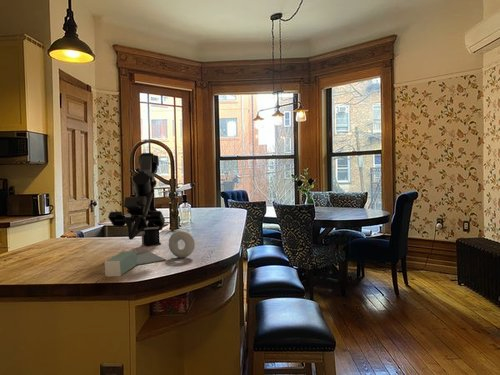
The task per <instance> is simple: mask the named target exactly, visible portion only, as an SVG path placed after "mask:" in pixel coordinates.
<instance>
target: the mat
mask: <svg viewBox="0 0 500 375" xmlns="http://www.w3.org/2000/svg"><path fill="white" fill-rule="evenodd" d="M136 255H137V265H135V266H142V265H147V264H155V263H160V262H165V261H166V260H167V259H165V258H164V257H162V256H159V255H158V254H155V253H153V252H151V251H148V250H145V251H141V252H136ZM114 256H115V255H114ZM114 256H113V255H112V257H114ZM135 266H134V267H135Z"/></svg>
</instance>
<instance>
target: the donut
mask: <svg viewBox="0 0 500 375" xmlns="http://www.w3.org/2000/svg"><path fill="white" fill-rule="evenodd" d="M180 240H182V241H183V243H184V247H183V248H181V247H180V246H179V241H180ZM195 246H196V245H195V239H194V237H193V235H192V234H191V233H190V232H189V231H188V230H187V231H186V230H183V229H181V230H176V231H174V232H173V233H172V234H171V235H170V237H169V239H168V248H169V251H170V252H171V253H172V255H173V256H174V257H176V258H180V259H182V258H183V259H185V258H188V257H189V256H191V255H192V254H193V252H194V250H195Z"/></svg>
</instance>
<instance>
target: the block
mask: <svg viewBox="0 0 500 375" xmlns="http://www.w3.org/2000/svg"><path fill="white" fill-rule="evenodd" d="M136 253H137V250H123V251H121V252H119V253H118V254H116V255H114V257H113V256H111V257H110V258H109V259H107V260H106V261H104V271H105V272H104V273H105V277H121V276H122V275H124V274H126V273H127V272H129V271H130V270H131V269H133V268H134V267H135V265H137V255H136ZM137 266H138V265H137Z"/></svg>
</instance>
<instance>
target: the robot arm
mask: <svg viewBox="0 0 500 375" xmlns="http://www.w3.org/2000/svg"><path fill="white" fill-rule="evenodd" d="M137 158H138V160H137V162H138V166H139V167H140V170H139V171H138V172H136V174H135V175H134V176H133V177H132V182H131V184H132V188H134V193H135V194H136V195H135V196H127V197H124V202H123V207H124V208H126V212H127V213H125V214H123V212H122V211H110V212H109V214H108V217H107V218H108V220H109V221H110V223H111V225H112V226H113V227H116V228H119V227H121V228H122V227H124V226H125V225H126V227H127V232H128V233H127V235H128V240H133V239H134V238H135V237H136V236H137V235H139V234H140V233H142V234H141V245H142V246H145V247H151V246H158V245H162V243H161V242H160V231H162V230H163V227H164V225H165V221H166V220H165V217H164V215H163V212H162V211H161V210H157V208H156V206H155V205H156V203H155V200H156V198H155V188H156V185H157V184H158V183H157V182H158V181H157V180H156V178H155V175H156V174H157V172H158V169H159V168H158V166H160V160H159V159H160V157H159V155H157V154H154V153H153V152H142V153H140V155H138V156H137Z"/></svg>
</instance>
